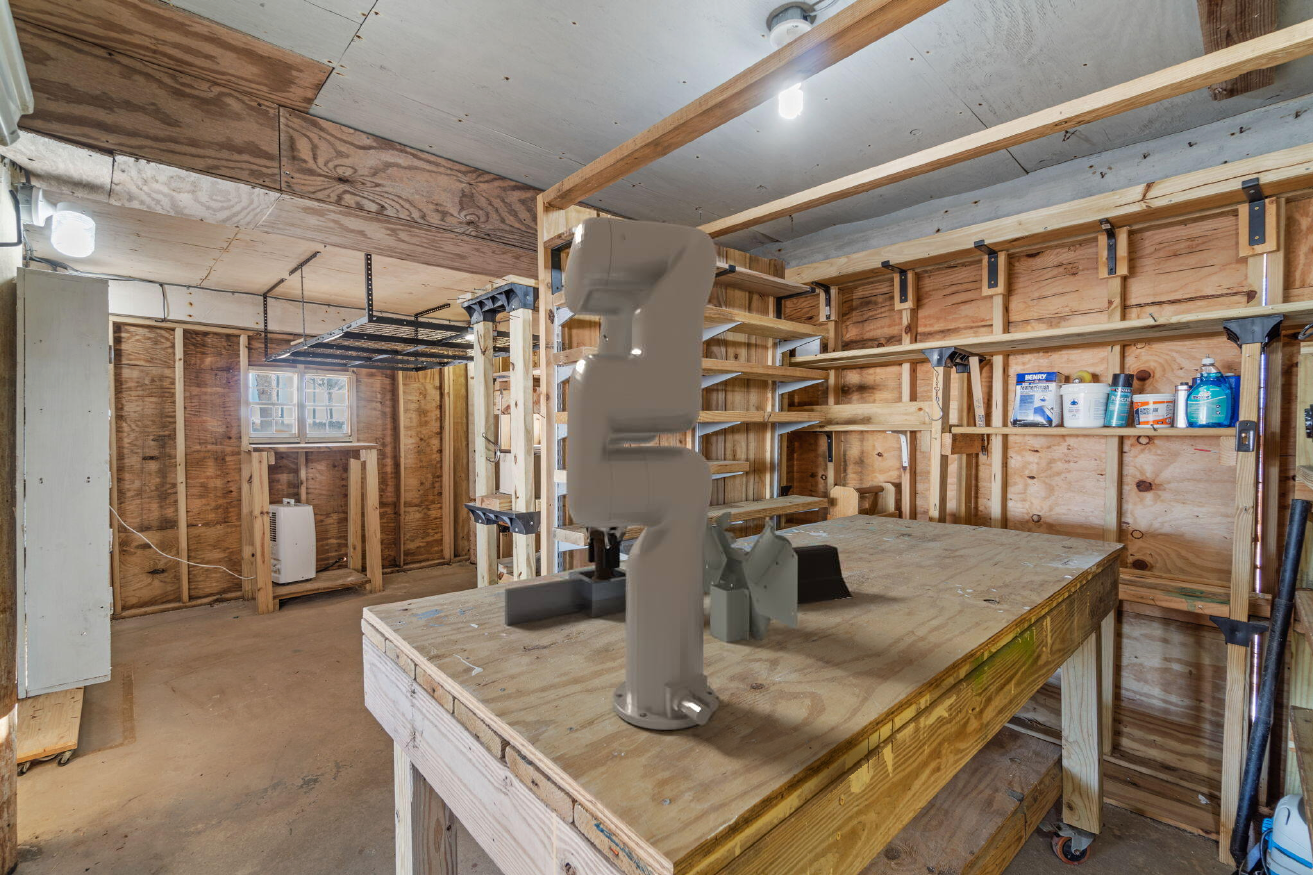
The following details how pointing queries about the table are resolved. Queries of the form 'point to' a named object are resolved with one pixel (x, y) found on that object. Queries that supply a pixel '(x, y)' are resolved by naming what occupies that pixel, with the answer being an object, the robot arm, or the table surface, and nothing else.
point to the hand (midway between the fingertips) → (603, 564)
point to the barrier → (819, 574)
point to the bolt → (600, 555)
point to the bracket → (749, 582)
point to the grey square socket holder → (567, 597)
